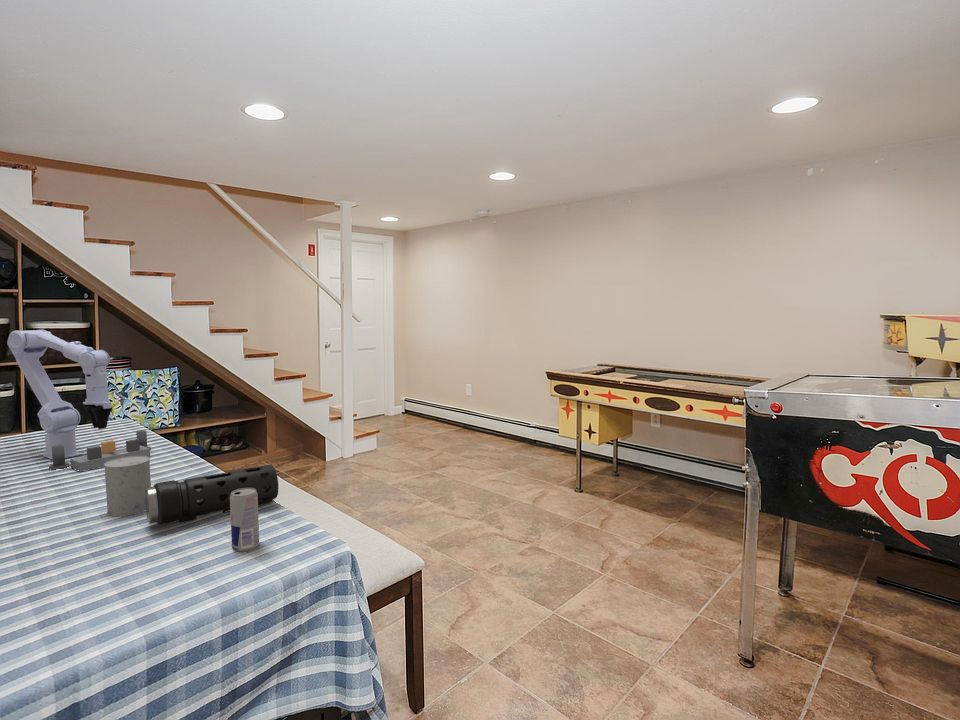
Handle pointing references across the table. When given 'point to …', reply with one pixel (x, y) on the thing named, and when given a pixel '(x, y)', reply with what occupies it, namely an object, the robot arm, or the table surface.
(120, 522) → the table surface
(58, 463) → the grey disc-based knob
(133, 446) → the box
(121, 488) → the concrete cylinder
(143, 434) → the post
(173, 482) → the muzzle brake
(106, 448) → the switch
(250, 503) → the energy drink
